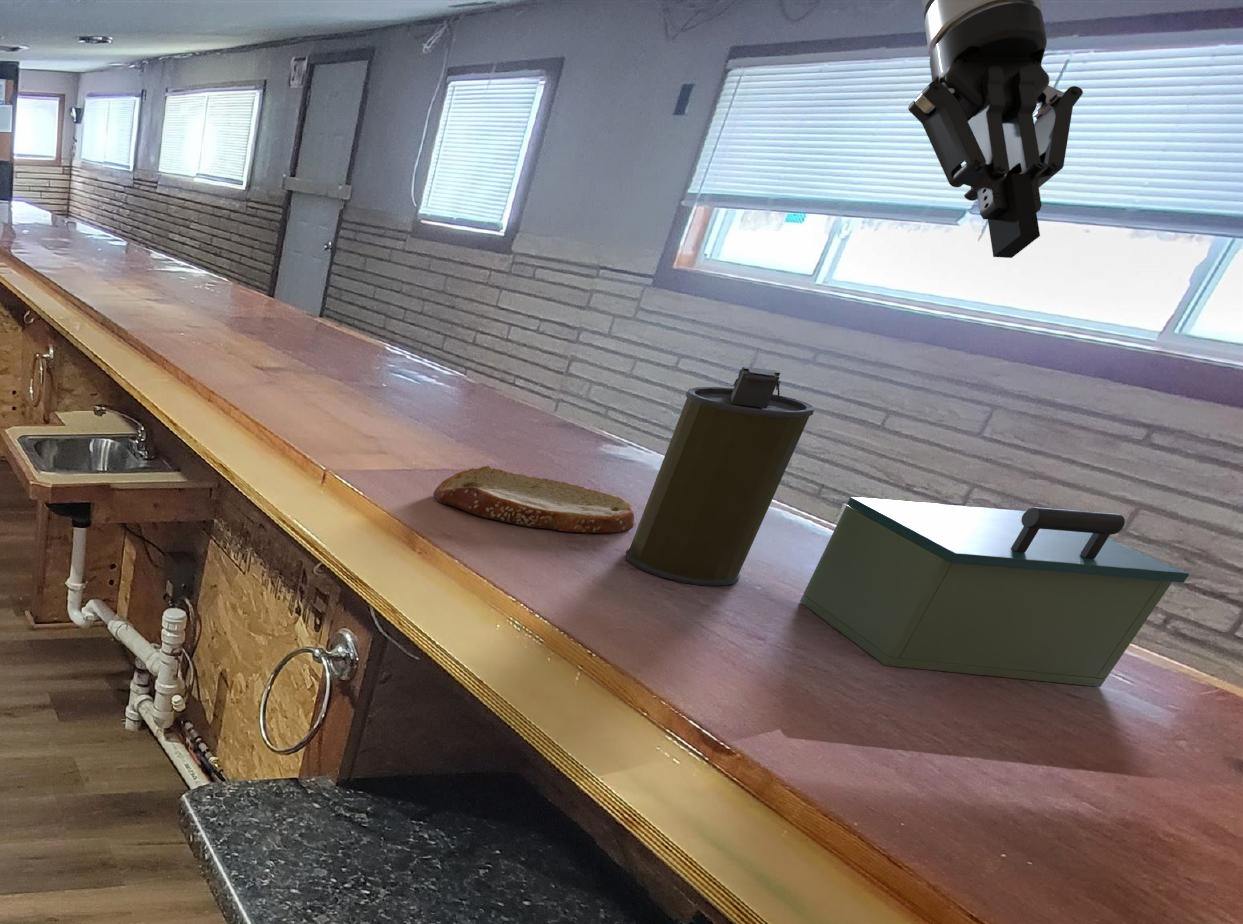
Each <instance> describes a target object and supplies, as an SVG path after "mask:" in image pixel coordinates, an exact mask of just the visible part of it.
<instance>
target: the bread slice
mask: <svg viewBox="0 0 1243 924" xmlns="http://www.w3.org/2000/svg"><path fill="white" fill-rule="evenodd" d="M433 496H434V497H435V499H436V500H437V501H438V503H440V504H444V505H447V506H451V507H454V508H458V509H460V510H463V511H464V512H466V513H470V514H472V515H475V516H478V517H481V518H484V519H488V520H493V519H494V520H495V521H498V520H499V522H503V523H506V524H511V523H513V524H512V525H516V524H517V526H523V527H526V528H527V527H528V528H534V529H535V528H536V529H548V530H553V531H558V532H565V533H582V534H583V533H585V534H613V533H620V532H625V531H628V530H630V529H631V530H632V529H633V528H634V526H636V514H635V511H634V509H633V506H632V504H631V503H630V502H628V501H627V500H625V499H624V498H623V497H621V496H618V495H614V494H611V493H607V492H603V491H600V490H597V489H592V488H587V487H584V486H581V485H578V484H572V483H568V482H565V481H560V480H559V481H558V480H555V479H549V478H545V477H544V478H543V477H542V478H541V477H537V476H532V475H526V474H524V473H515V472H512V471H506V470H503V469H500V468H491V466H490V465H486V466H481V467H479V468H474V467H471V468H469V469H467V470H466V469H465V470H462V471H459V472H456V473H455V474H453V475H451V476H449V477H446V479H444V480H442V482H440V484H439V485H438V486H437V487H436V488H435V490H434V491H433Z"/></svg>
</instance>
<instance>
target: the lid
mask: <svg viewBox="0 0 1243 924" xmlns="http://www.w3.org/2000/svg"><path fill="white" fill-rule="evenodd" d="M846 506H850V507H852V508H853V509H855V510H857V511H859V512H861V513H862V514H864V515H866V516H868V517H870V518H871V519H873V520H875V521H877V522H879V523H880V524H882V525H884V526H886V527H888V528H889V529H891V530H893V531H895V532H897V533H898V534H900V535H902V536H904V537H906V538H907V539H909V540H911V541H913V542H915V543H916V544H918V545H920V546H922V547H924V548H925V549H927V550H929V551H931V552H933V553H935V554H936V555H938V556H940V557H942V558H944V559H945V560H947V561H949V562H953V563H964V564H975V565H987V566H998V567H1010V568H1021V569H1032V570H1044V571H1055V572H1066V573H1078V574H1089V575H1100V576H1112V577H1123V578H1135V579H1146V580H1157V581H1169V582H1172V583H1181V584H1182V583H1183V584H1184V583H1185V582H1186V580H1187V579H1188V577H1189V576H1190V573H1189V572H1187V571H1185V570H1182V569H1180V568H1178V567H1176V566H1173V565H1171V564H1168V563H1166V562H1164V561H1161V560H1160V559H1157V558H1155V557H1152V556H1150V555H1148V554H1145V553H1143V552H1141V551H1138V550H1136V549H1134V548H1132V547H1129V546H1127V545H1125V544H1122V543H1120V542H1118V541H1115V540H1113V539H1110V538H1109V537H1110V535H1116V534H1118V533H1120V532H1121V531H1122V530H1123V528H1124V527H1125V524H1126V519H1125V517H1124V515H1121V514H1119V513H1112V512H1111V513H1109V512H1098V511H1097V512H1096V511H1084V510H1074V509H1061V508H1047V507H1035V506H1033V507H1030V508H1027V509H1026V510H1018V509H1017V510H1016V509H1007V508H1006V509H1004V508H993V507H992V508H991V507H979V506H967V505H954V504H943V503H931V502H920V501H905V500H893V499H883V498H882V499H881V498H868V497H858V496H857V497H856V496H850V497H849V498H848V501H847V503H846Z"/></svg>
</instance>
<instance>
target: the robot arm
mask: <svg viewBox="0 0 1243 924" xmlns="http://www.w3.org/2000/svg"><path fill="white" fill-rule="evenodd" d="M921 4H922V10H923V18H924V29H925V36H926V42H927V43H926V44H927V51H928V55H929V69H930V76H931V82H930V83H928V85H927V86H925V88H924V89H923V90H922V91H921V92H920V93H919V94H918V95H917V97H915V99H913V101H912V102H911V103H910V104H909V105H908V106H907V110H908V111H909V112H910V113H911V114H912V115H913V116H914V117H915V119H916V120H917V121H918V122H920V123H921V125H922V127H923V129H924V131H925V134H926V136H927V138H928V140H929V142H930V144H931V146H932V149H933V151H934V153H935V155H936V157H937V160H938V163H939V164H940V167H941V169H942V171H943V173H944V176H945V177H946V180H947V182H948V184H949V185H950V186H951V187H953V188H961V187H963V185H964V186H968V187H970V189H969V190H968V191H967V192H965V193H964V194H963V197H964V198H965V199H966V200H968V201H971V202H974V201H976V200H977V203H978V208H979V215H980V217H981V218H982V219H983V220H985V221H987V222H988V231H989V237H990V238H989V239H990V244H991V251H992V258H1005V259H1013V258H1014V257H1015V256H1016V255H1018V254H1019V253H1020V252H1021V251H1023V250H1024V249H1026V248H1027V247H1028V246H1029V245H1031V244H1032V243H1033V242H1034V241H1035V240H1037V239H1038V238H1039V237H1041V233H1040V227H1039V226H1040V225H1039V221H1038V215H1037V213H1039V211H1040V210H1041V208H1042V205H1043V204H1042V200H1041V199H1042V198H1041V193H1040V188H1041V187H1042V186H1043V185H1044V184H1045V183H1047V182H1048V181H1049V180H1051V179H1052V178H1054V176H1055V175H1056V174H1058V173H1059V172H1061V170H1062V169H1063V168H1064V167H1065V159H1066V152H1067V148H1068V140H1069V133H1070V128H1071V122H1072V115H1073V108H1074V106H1075V105H1076V103H1077V102H1078V101H1079V100H1080V98H1081V97H1082V96H1083V94H1084V91H1083V89H1082V88H1081V87H1080V86H1076V85H1072V86H1070V87H1068V88H1067V89H1066V90H1065V91H1064V92H1063V91H1062V90H1059V89H1058V88H1055V87H1053V86H1052V85H1050V81H1051V78H1050V75H1049V74H1048V72H1047V71H1045V69H1044V67H1043V66H1042V62H1043V58H1044V56H1045V52H1046V49H1047V45H1048V44H1047V43H1048V40H1047V34H1046V28H1045V27H1046V26H1045V23H1044V17H1043V16H1044V15H1043V12H1042V4H1041V0H921ZM1035 111H1036V112H1035ZM1034 119H1035V120H1036V121H1035V120H1034ZM1034 121H1035V122H1034ZM964 162H965V164H964V165H962V164H963V163H964Z"/></svg>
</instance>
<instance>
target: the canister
mask: <svg viewBox="0 0 1243 924" xmlns="http://www.w3.org/2000/svg"><path fill="white" fill-rule="evenodd" d="M780 375H781V371H780V370H773V369H765V368H758V367H750V366H742V367H741V369H740V370H739V371H738V376H737V378H736V379H735V381H734V383H733V385H732V386H733V387H720V386H698V387H697V386H696V387H692V388H689V389H688V390H687V391H686V393H685V397H686V399H685V402H684V405H683V407H682V409H681V412H680V415H679V418H678V421H677V423H676V426H675V429H674V431H673V434H672V436H671V438H670V441H669V444H668V446H667V449H666V452H665V455H664V457H663V460H662V462H661V465H660V468H659V469H658V473H657V475H656V479H655V481H654V484H653V487H652V489H651V491H650V494H649V497H648V500H647V502H646V504H645V507H644V510H643V512H642V515H641V518H640V521H639V523H638V526H637V528H636V531H635V534H634V536H633V538H632V540H631V541H632V542H631V544H630V547H629V548H627V549H626V551H625V559H626V560H627V561H628V562H629V563H631V564H632V565H633V566H635V567H636V568H637V569H639V570H642V571H644V572H646V573H649V574H652V575H654V576H657V577H660V578H664V579H667V580H670V581H675V582H678V583H683V584H689V585H695V586H704V587H708V586H709V587H714V586H715V587H716V586H719V587H720V586H731V585H733V584H735V583H737V582H738V581H739V580H740V579H741V571H742V569H743V566H744V564H745V561H746V559H747V557H748V555H749V553H750V550H751V548H752V545H753V544H754V542H755V539H756V537H757V534H758V532H759V530H760V528H761V525H762V523H763V521H764V519H765V516H766V515H767V512H768V510H769V508H770V506H771V504H772V501H773V499H774V496H775V494H776V492H777V490H778V488H779V486H780V483H781V481H782V479H783V476H784V475H785V472H786V470H787V467H788V465H789V463H790V461H791V458H792V457H793V454H794V452H795V450H796V447H797V445H798V443H799V441H800V438H801V436H802V434H803V432H804V430H805V428H806V426H807V424H808V421H809V418H810V416H813V415H814V413H815V411H816V409H815V407H814V406H813V405H811V404H810V403H808V402H805V401H803V400H799V399H796V398H793V397H789V396H784V395H780V385H781V381H780V378H781V377H780ZM775 390H776V391H777V394H775V393H774V392H775Z"/></svg>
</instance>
